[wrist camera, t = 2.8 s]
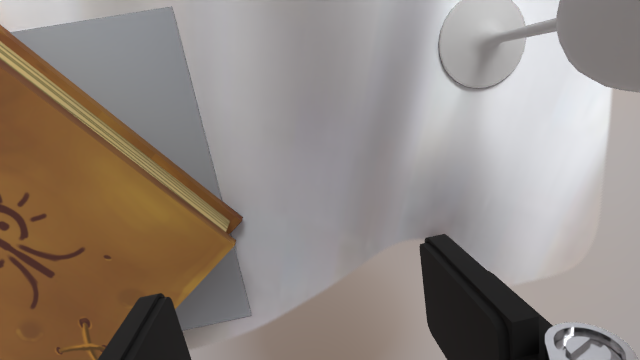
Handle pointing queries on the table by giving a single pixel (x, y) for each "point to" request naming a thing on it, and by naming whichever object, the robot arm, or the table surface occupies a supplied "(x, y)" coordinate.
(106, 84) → the display board
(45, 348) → the diary
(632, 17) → the wineglass
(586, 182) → the table surface
